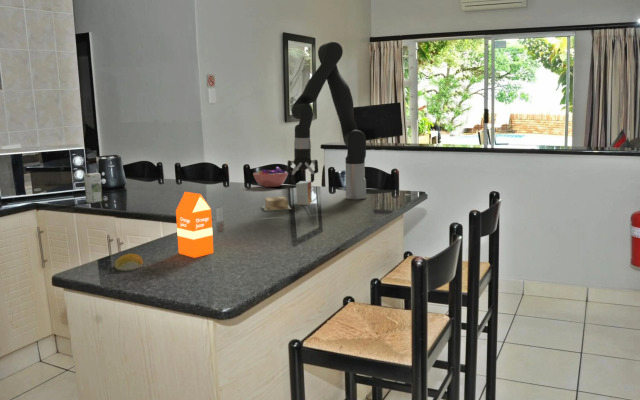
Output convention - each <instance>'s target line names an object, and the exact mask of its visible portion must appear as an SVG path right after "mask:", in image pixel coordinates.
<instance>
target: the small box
mask: <svg viewBox="0 0 640 400" xmlns="http://www.w3.org/2000/svg"><path fill="white" fill-rule="evenodd" d="M295 191H296V192H295V193H296V205H300V206H301V205H304V206H306V205H308V206H309V205H310V204H311V203H312V199H313V198H312V182H311V180H300V181H298V182H297V183H296V182H295Z"/></svg>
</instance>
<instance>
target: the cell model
mask: <svg viewBox="0 0 640 400" xmlns="http://www.w3.org/2000/svg"><path fill="white" fill-rule="evenodd" d="M252 175H253V178H254V179H255V182H256V183H257V184H258V185H260V186H261V187H264V188H276V187H280V186H282V185H283V184H284V183H285V181H286V179H287V178H288V175H289V174H288V173H287V170H282V169H281V167H279V166H275V168H274V169H264V168H263V169H261V170H259V171H255V172H253V173H252Z"/></svg>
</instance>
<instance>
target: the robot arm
mask: <svg viewBox="0 0 640 400" xmlns="http://www.w3.org/2000/svg"><path fill="white" fill-rule="evenodd" d="M343 53H344V50H343V46H342V45H341V44H340V43H339V42H337V41H329V42H327V43H323V44H322V45H320V46H319V48H318V51H317V56H318V60H319V64H320V65H319V66H318V68H317V69H316V70H315V72H314V73H313V74H312V76H311V77H310V78H309V79H308V81H307V83H306V85H305V87H304V89H303V91H302V93H301V95H299V97H298V98H297V100H295V102H294V103H293V104H292V107H291V115H292V117H293V118H294V119H296V120H299V122H298V124H297V125H295V126H294V142H293V143H294V145H293V147H294V148H293V149H294V152H293V153H294V159H293V160H287V162H286V163H287V164H286V165H287V166H286V167H287V168H286V171H287V173H288V175H290V179H291V182H292V183H293V184H296V176H295V174H296V172H298V170H299V171H300V170H301V171H302V170H304V171H305V170H306V171H307V170H308V171H309V172H310V181H311V183H314V181H315V174H318V173H319V163H318V160H317V159H313V160H312V157H311V156H312V155H311V153H312V149H311V147H312V144H311V126H312V121H313V117H314V110H313V107H312V105H311V104H314V103H315V102H316V101H317V99H318V97H319V95H320V93H321V91H322V89H323V87H324V85H325V83H326V82H327V84H328V88H329V92H330V95H331V99H332V103H333V105H334V109H335V112H336V115H337V117H338V120H339V124H340V128H341V134H342V139H343V143H344V145H345V146H346V147H347V154H346V157H345V198H346V199H348V200H362V199H363V200H364V199H367V179H366V178H365V177H366V175H365V173H366V172H365V171H366V169H365V164H366V162H365V160H366V156H367V138H366V135H365V133H364V132H363V131H362V130H359V129H358V126H357V123H356V121H355V115H354V112H355V111H354V109H355V108H354V98H353V96H352V91H351V88H350V87H349V84H348V82H347V81H346V80H345V79H344V78H343V76H342V75H341V73H340V71H339V68H338V66H337V65H338V63H339V61H340V60H341V58H342V57H343ZM293 164H294V167H293V169H292V171H291V168H292V167H291V166H292V165H293ZM312 164H313V165H314V170H313V169H312V167H311V165H312Z"/></svg>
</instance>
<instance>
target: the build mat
mask: <svg viewBox="0 0 640 400" xmlns="http://www.w3.org/2000/svg"><path fill="white" fill-rule="evenodd" d="M261 207H262V209H263V210H264V211H266V212H267V211H269V210H268V209H267V208H266V206H265V205H264V206H261ZM279 210H280V211H281V210H283V209H277V210H276V211H279ZM287 210H292V208H291V206H290V205H289V204H288V209H287Z"/></svg>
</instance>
